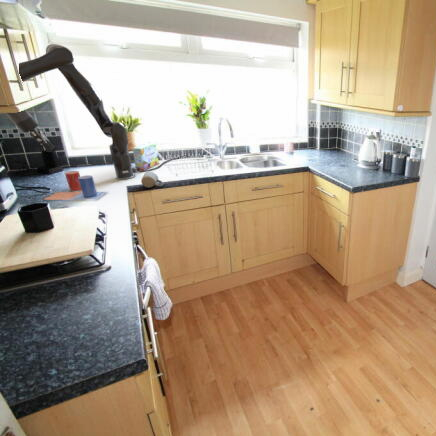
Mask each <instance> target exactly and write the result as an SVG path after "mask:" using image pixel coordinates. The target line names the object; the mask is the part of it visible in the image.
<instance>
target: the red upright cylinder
mask: <svg viewBox="0 0 436 436" xmlns="http://www.w3.org/2000/svg"><path fill="white" fill-rule="evenodd" d="M64 175H65V179H66V182H67V185H68V188H69V192H80V191H82V190H81V186H80V183H79V180H78V177H81V174H80V171H78V170H70V171H65V173H64Z"/></svg>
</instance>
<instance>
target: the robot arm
mask: <svg viewBox="0 0 436 436" xmlns="http://www.w3.org/2000/svg"><path fill="white" fill-rule="evenodd" d="M74 62H75V56H74V53H73V52H72V51H71V50H70V49H69V48H67V47H66V46H64V45H61V44H59V43H58V44H57V43H50V44H48V45H47V46H46V48H45V53H44V54H43V55H41V56H39V57H36V58H33V59H30V60H26V61H22V62H18V63H19V74H20V76H21V79H22V81H23V82H22V83H25V82H27V81H29V80H31V79H33V78H35V77H38V76H40V75H42V74H45V73H47V72H50V71H53V70H56V69H57V70H58V71H59V72H60V73H61V75H63V77H64V78H65V80H66V81H67V83H68V85H69V86H70V87H71V89H72V90H73V92H74V93H75V95H76V96H77V97H78V99H79V100H80V102H81V103H82V104H83V105H84V106H85V108H86V110H87V111H88V112H89V113H90V115H91V116H92V117H93V119H94V120H95V122H96V123H97V125H98V127H99V128H100V130H101V131H102V133H103V134H104V135H105V136H106V137H108V138H111V140H112V141H111V142H112V143H111V144H109V146H108V147H109V152H110V156H111V160H112V165H113V168H114V173H115V178H116V179H117V180H129V179H132V178H134V177H135V175H134V174H136V173H137V171H138V172H139V173H146V172H152V171H155V170H157V169H159V168H160V167H162V166H163V165H164V164H165V163H167V162H169V161H173V160H178V159H181V158H184V157H187V158H188V157H189V156H188V155H187V154H184V155H181V156H178V157H173V158H170V159H168V160H166V161H163V162H162V163H161V164H159V165H158V166H157V167H156V166H155V167H153V168H149V169H146V170H144V171H140V170H137V169H136V167H133V165H132V161H131V156H130V152H129V139H128V132H127V128H126V127H125V125H124V124H123V123H121V122H117V121H113V120H112V119H111V117H109V115H108V113H107V112H106V110H105V106H104V101H103V99H102V97H101V96H100V94H99V93H98V90H96V88H95V86H93V84H92V83H91V82H90V81H89V80H88V79H87V78H86V77H85V76H84V74H82V72H80V70H79V69H78V67H76V65H75V63H74ZM5 115H6V116H7V117H8V118H9V119H10V121H11V122H12V123H13V124H15V126H16V127H17V128H18V129H19V130H20V131H21V132H22V133H27V132H29V135H30V136H31V137H32V138H33V139H34V140H35V141H36V142H37V143H38V144H39V145H41V146H42V147H43V148H44V149H45V150H46V151H47V152H52V151H54V149H55V148H56V147H55V146H54V145H53V144H52V143H51V142H50V140H49V138H48V137H47V136H46V135H45V134H44V132H42V131H41V130H40V129H37V128H38V127H39V126H40V123H39V122H38V121H37V119H35V118H34V117H33V116H32V115H31V113H29V112H28V111H27V110H26V109H25V110H24V111H21V112H17V113H5Z"/></svg>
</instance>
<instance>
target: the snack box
mask: <svg viewBox="0 0 436 436" xmlns="http://www.w3.org/2000/svg"><path fill="white" fill-rule="evenodd" d="M131 150H132V154H133V159H134V164H135V168H136V169H137V170H140V171H147V170H149V169H152V168H154V167H156V165H160V164H159V163H160V161H159V155H158V148H157V143H156V142H147V143H143V144H141V145H138V146H135V147H132V149H131ZM137 170H136V171H137Z"/></svg>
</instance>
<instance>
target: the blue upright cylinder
mask: <svg viewBox="0 0 436 436" xmlns="http://www.w3.org/2000/svg"><path fill="white" fill-rule="evenodd" d="M78 180H79V183H80V186H81V190H80V191H81V192H82V193H83V197H85V198H90V197H95V196H97V192H98V191H97V187H96V183H95V180H94V176H93V175H80V177H78Z"/></svg>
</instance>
